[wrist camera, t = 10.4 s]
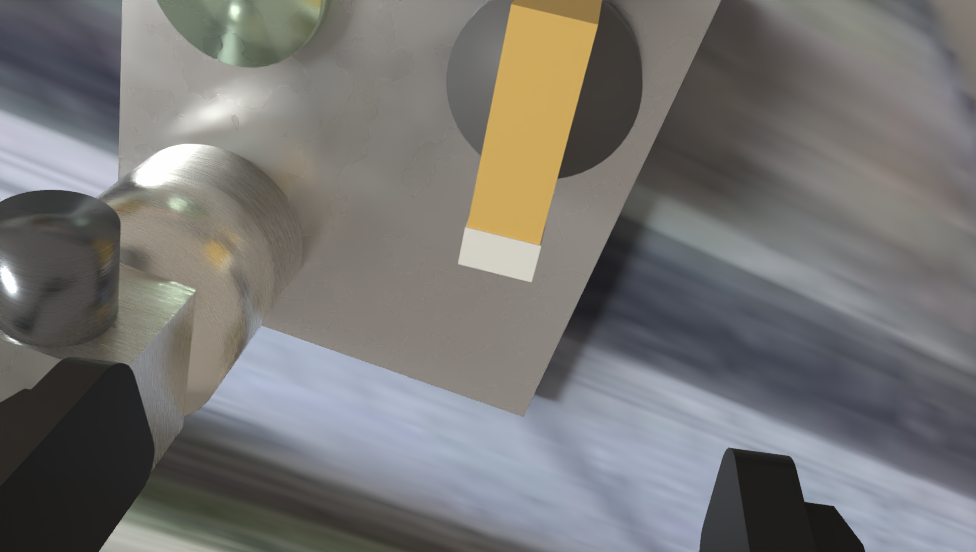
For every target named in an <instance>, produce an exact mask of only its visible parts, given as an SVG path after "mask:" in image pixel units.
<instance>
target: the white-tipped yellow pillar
mask: <svg viewBox="0 0 976 552" xmlns="http://www.w3.org/2000/svg"><path fill="white" fill-rule="evenodd" d="M446 86H447V96H448V102H449V106H450V109H451V113H452V116H453V118H454V120H455V122H456V125H457V127H458V128H459V130H460V132H461V133H462V135H463V137H464V138H465V139H466V140H467V142H468V143H469V144H470V145H471V147H472V148H473V149H474V150H475V151H476V152H477V153H478V154H479V155H481V160H480V165H479V170H478V175H477V180H476V185H475V190H474V195H473V200H472V205H471V210H470V215H469V218H468V221H467V224H466V226H465V230H464V235H463V240H462V245H461V250H460V256H459V261H458V264H460V265H464V266H468V267H472V268H476V269H480V270H484V271H488V272H492V273H496V274H500V275H504V276H508V277H512V278H516V279H520V280H524V281H528V282H532V279H533V275H534V272H535V268H536V264H537V260H538V257H539V253H540V249H541V245H542V240H543V235H544V231H545V226H546V221H547V216H548V211H549V208H550V204H551V200H552V196H553V193H554V189H555V185H556V181H557V179H560V178H565V177H570V176H573V175H577V174H580V173H582V172H585V171H587V170H589V169H591V168H593V167H595V166H596V165H598V164H600V163H601V162H603V161H604V160H605V159H607V158H608V157H609V156H610V155H612V154H613V153H614V151H615V150H616V149H617V148H618V147H619V146H620V145H621V144H622V143H623V141H624V140H625V138H626V137H627V136H628V134H629V132H630V130H631V129H632V127H633V125H634V123H635V120H636V118H637V115H638V112H639V108H640V104H641V99H642V89H643V82H642V62H641V56H640V51H639V48H638V45H637V42H636V39H635V37H634V35H633V33H632V31H631V28H630V27H629V25H628V24H627V22H626V21H625V19H624V18H623V17H622V15H621V14H620V13H619V12H618V11H617V10H616V9H615V7H613V6H612V5H611V4H610V3H609V2H608V1H607V0H487V1H486V2H485V3H483V4H482V5H481V6H480V8H479V9H478V10H477V11H476V12H475V13H474V14H473V15H472V17H471V18H470V19H469V21H468V22H467V24H466V25H465V26H464V28H463V29H462V30H461V32H460V34H459V36H458V37H457V39H456V41H455V43H454V46H453V48H452V51H451V54H450V58H449V62H448V66H447V76H446Z"/></svg>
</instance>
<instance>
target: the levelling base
mask: <svg viewBox="0 0 976 552" xmlns="http://www.w3.org/2000/svg"><path fill="white" fill-rule="evenodd" d="M486 1H487V0H122V43H121V86H120V129H119V172H118V182H116V183H115V184H114V185H112V186H111V187H110V188H108V189H107V190H106V191H104V192H103V193H102V194H100V195H99V196H98V197H96V198H94V197H91V196H88V195H85V194H81V193H77V192H71V191H63V190H40V191H32V192H26V193H22V194H18V195H15V196H12V197H9V198H7V199H5V200H3V201H1V202H0V402H2V401H4V400H5V399H7V398H9V397H10V396H12V395H14V394H16V393H17V392H19V391H21V390H22V389H32V388H33V387H34V386H35V385H36V384H37V383H38V382H39V381H40V380H41V379H42V378H43V377H44V376H45V375H46V374H47V373H48V372H49V371H50V370H51V369H52V368H53V367H54V366H55V365H56V364H57V363H58V362H60V361H61V360H63V359H64V358H67V357H73V356H74V357H81V358H88V359H96V360H103V361H110V362H118V363H124V364H126V365H128V366H129V367H130V368H131V369H132V371H133V373H134V375H135V378H136V382H137V385H138V389H139V392H140V396H141V399H142V403H143V406H144V409H145V413H146V416H147V420H148V423H149V427H150V430H151V434H152V437H153V441H154V448H155V452H154V462H153V466H152V470H153V469H154V467H155V466H156V465H157V463H158V462H159V460H160V459H161V458H162V456H163V455H164V453H165V452H166V451H167V449H168V448H169V446H170V445H171V444H172V442H173V441H174V439H175V438H176V437H177V435H178V434H179V432H180V431H181V430H182V428H183V420H184V416H186V415H189V414H191V413H193V412H195V411H196V410H198V409H199V408H201V407H202V406H203V405H204V404H205V403H206V402H207V401H208V400H209V399H210V397H211V396H212V395H213V393H214V392H215V390H216V389H217V388H218V386H219V385H220V383H221V382H222V380H223V379H224V378H225V376H226V375H227V373H228V372H229V370H230V369H231V368H232V366H233V365H234V363H235V362H236V361H237V359H238V358H239V356H240V355H241V353H242V352H243V351H244V349H245V348H246V346H247V345H248V343H249V342H250V341H251V339H252V338H253V336H254V335H255V334H256V332H257V331H258V329H259V328H260V326H261V325H262V326H265V327H268V328H271V329H274V330H277V331H279V332H282V333H285V334H288V335H291V336H294V337H297V338H299V339H302V340H305V341H308V342H311V343H314V344H317V345H320V346H322V347H325V348H328V349H331V350H334V351H337V352H340V353H342V354H345V355H348V356H351V357H354V358H357V359H360V360H362V361H365V362H368V363H371V364H374V365H377V366H380V367H383V368H385V369H388V370H391V371H394V372H397V373H400V374H403V375H405V376H408V377H411V378H414V379H417V380H420V381H423V382H425V383H428V384H431V385H434V386H437V387H440V388H443V389H446V390H448V391H451V392H454V393H457V394H460V395H463V396H466V397H468V398H471V399H474V400H477V401H480V402H483V403H486V404H489V405H491V406H494V407H497V408H500V409H503V410H506V411H509V412H511V413H514V414H517V415H520V416H523V417H524V414H525V412H526V410H527V408H528V406H529V404H530V402H531V400H532V398H533V396H534V393H535V391H536V389H537V387H538V385H539V383H540V381H541V379H542V377H543V374H544V372H545V370H546V368H547V366H548V364H549V362H550V360H551V358H552V356H553V353H554V351H555V349H556V347H557V345H558V343H559V341H560V339H561V337H562V334H563V332H564V330H565V328H566V326H567V324H568V322H569V320H570V318H571V316H572V313H573V311H574V309H575V307H576V305H577V303H578V301H579V299H580V297H581V294H582V292H583V290H584V288H585V286H586V284H587V282H588V280H589V278H590V276H591V273H592V271H593V269H594V267H595V265H596V263H597V261H598V259H599V257H600V254H601V252H602V250H603V248H604V246H605V244H606V242H607V240H608V238H609V235H610V233H611V231H612V229H613V227H614V225H615V223H616V221H617V219H618V217H619V214H620V212H621V210H622V208H623V206H624V204H625V202H626V200H627V198H628V195H629V193H630V191H631V189H632V187H633V185H634V183H635V181H636V179H637V177H638V174H639V172H640V170H641V168H642V166H643V164H644V162H645V160H646V158H647V155H648V153H649V151H650V149H651V147H652V145H653V143H654V141H655V139H656V137H657V134H658V132H659V130H660V128H661V126H662V124H663V122H664V120H665V118H666V115H667V113H668V111H669V109H670V107H671V105H672V103H673V101H674V99H675V97H676V94H677V92H678V90H679V88H680V86H681V84H682V82H683V80H684V78H685V75H686V73H687V71H688V69H689V67H690V65H691V63H692V61H693V59H694V57H695V54H696V52H697V50H698V48H699V46H700V44H701V42H702V40H703V38H704V35H705V33H706V31H707V29H708V27H709V25H710V23H711V21H712V19H713V17H714V14H715V12H716V10H717V8H718V6H719V4H720V2H721V0H607V1H608V2H609V3H610V4H611V5H612V6H613V7H615V9H616V10H617V11H618V12H619V13H620V14H621V15H622V17H623V18H624V19H625V21H626V22H627V24H628V25H629V27H630V28H631V31H632V33H633V35H634V37H635V39H636V42H637V45H638V48H639V51H640V56H641V62H642V82H643V89H642V99H641V104H640V108H639V112H638V115H637V118H636V120H635V123H634V125H633V127H632V129H631V130H630V132H629V134H628V136H627V137H626V138H625V140H624V141H623V143H622V144H621V145H620V146H619V147H618V148H617V149H616V150H615V151H614V153H613V154H612V155H610V156H609V157H608V158H607V159H605V160H604V161H603V162H601V163H600V164H598V165H596V166H595V167H593V168H591V169H589V170H587V171H585V172H582V173H580V174H577V175H573V176H570V177H565V178H560V179H557V181H556V185H555V189H554V193H553V196H552V200H551V204H550V208H549V211H548V216H547V221H546V226H545V231H544V235H543V240H542V245H541V249H540V253H539V257H538V260H537V264H536V268H535V272H534V275H533V279H532V282H528V281H524V280H520V279H516V278H512V277H508V276H504V275H500V274H496V273H492V272H488V271H484V270H480V269H476V268H472V267H468V266H464V265H460V264H458V261H459V256H460V250H461V245H462V240H463V235H464V230H465V226H466V224H467V221H468V218H469V215H470V210H471V205H472V200H473V195H474V190H475V185H476V180H477V175H478V170H479V165H480V160H481V155H479V154H478V153H477V152H476V151H475V150H474V149H473V148H472V147H471V145H470V144H469V143H468V142H467V140H466V139H465V138H464V137H463V135H462V133H461V132H460V130H459V128H458V127H457V125H456V122H455V120H454V118H453V116H452V113H451V109H450V106H449V102H448V96H447V86H446V76H447V66H448V62H449V58H450V54H451V51H452V48H453V46H454V43H455V41H456V39H457V37H458V36H459V34H460V32H461V30H462V29H463V28H464V26H465V25H466V24H467V22H468V21H469V19H470V18H471V17H472V15H473V14H474V13H475V12H476V11H477V10H478V9H479V8H480V6H481V5H482V4H483V3H485V2H486ZM152 470H151V472H152Z"/></svg>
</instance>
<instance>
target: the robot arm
mask: <svg viewBox="0 0 976 552" xmlns="http://www.w3.org/2000/svg"><path fill="white" fill-rule="evenodd" d="M154 452H155V448H154V441H153V437H152V434H151V430H150V427H149V423H148V420H147V416H146V413H145V409H144V406H143V403H142V399H141V396H140V392H139V389H138V385H137V382H136V378H135V375H134V373H133V371H132V369H131V368H130V367H129V366H128V365H126V364H124V363H118V362H110V361H103V360H96V359H88V358H81V357H74V356H73V357H67V358H64V359H63V360H61V361H60V362H58V363H57V364H56V365H55V366H54V367H53V368H52V369H51V370H50V371H49V372H48V373H47V374H46V375H45V376H44V377H43V378H42V379H41V380H40V381H39V382H38V383H37V384H36V385H35V386H34V387H33V388H32V389H22V390H21V391H19V392H17V393H16V394H14V395H12V396H10V397H9V398H7V399H5V400H4V401H2V402H0V552H99V550H100V549H101V547H102V546H103V545H104V543H105V542H106V540H107V539H108V537H109V536H110V535H111V533H112V532H113V530H114V529H115V527H116V526H117V525H118V523H119V522H120V520H121V519H122V518H123V516H124V515H125V513H126V512H127V510H128V509H129V508H130V506H131V505H132V503H133V502H134V500H135V499H136V498H137V496H138V495H139V493H140V492H141V490H142V489H143V487H144V486H145V484H146V482H147V480H148V478H149V475H150V473H151V470H152V466H153V462H154ZM699 552H865V549H864V546H863V544H862V543H861V541H860V540H859V539H858V538H857V536H856V535H855V534H854V532H853V531H852V530H851V528H850V527H849V526H848V524H847V523H846V522H845V520H844V519H843V518H842V516H841V515H840V514H839V512H838V511H837V510H836V508H835V507H834V506H829V505H822V504H815V503H808V502H804V498H803V494H802V490H801V486H800V482H799V478H798V474H797V470H796V467H795V464H794V461H793V460H792V458H791V457H790V456H785V455H778V454H771V453H763V452H756V451H749V450H741V449H734V448H728V449H727V450H726V451H725V453H724V455H723V458H722V462H721V465H720V469H719V472H718V475H717V479H716V482H715V486H714V489H713V493H712V496H711V500H710V503H709V507H708V510H707V513H706V517H705V520H704V524H703V528H702V533H701V540H700V551H699Z"/></svg>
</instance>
